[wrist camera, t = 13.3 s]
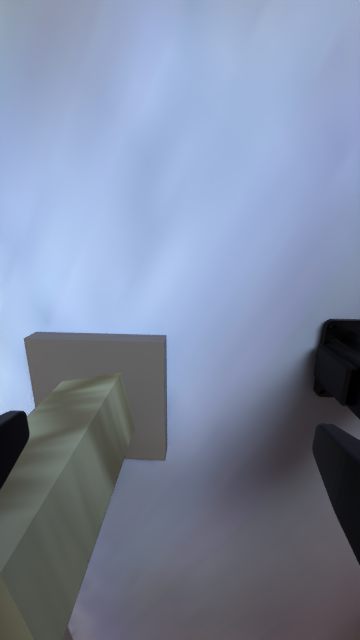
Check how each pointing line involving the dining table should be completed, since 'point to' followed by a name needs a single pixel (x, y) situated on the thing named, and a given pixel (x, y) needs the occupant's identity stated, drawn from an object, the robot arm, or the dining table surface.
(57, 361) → the base board
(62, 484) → the green post
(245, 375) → the dining table surface
